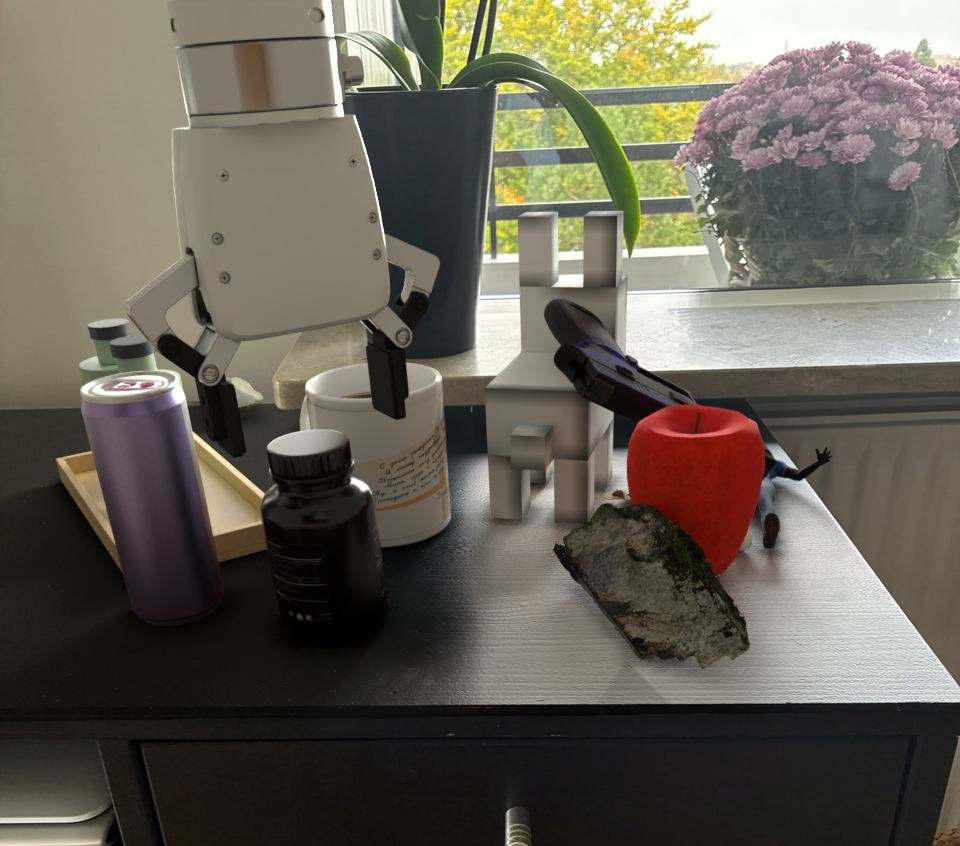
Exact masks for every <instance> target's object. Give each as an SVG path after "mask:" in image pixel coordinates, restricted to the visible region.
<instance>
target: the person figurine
mask: <svg viewBox="0 0 960 846" xmlns="http://www.w3.org/2000/svg"><path fill="white" fill-rule="evenodd" d="M764 443H765V445H766V446H767V444H766V442H765V441H764ZM815 453H816V459H817V460H815V461H814V462H812V463H810V464H809V465H807V466H805V467H803V468H801V469H797V468H793V467H791V466H789V465H788V464H786V463H785V461H783V460H779V459H776V458H775V460H776V465H775V466H774V467H773V468H772V470H771V471H770V472H769V473H768V475H767V476H766V477H765V478H764V480H762V485H761V491H760V496H759V501H758V504H757V507H758V510H759V511H760V516H761V517H760V521H761V522H760V523H761V527H762V528H761V529H762V531H763V533H762V545H763V548H764V549H766V550H771V549H773V548H774V547H775V546H776V543H777V539H778V537H779V534H780V530H781V520H780V518H779V516H778V514H776V513H775V508H774V503H775V500H776V497H777V491H776V487H775V484H774V483H773V481H772V480H773V479H776V478H781V479H789V480H791V481H794V482H795V481H796V482H801V481H803V480H804V479H806V478H808V477H809V476H811V475H812V474H813V473H815V472H816V471H817V470H818V469H819V468H820V467H821V466H824V465H825V464H827V463H830V462H831V460H830V459H831V458H833V456H832V455H830V454H831V450H829V451H828V447H827V446H825V447H824V450H823V452H820V450H819V449H818V448H815ZM753 538H754V537H753V534H752V532H751V531H750V530H748V532H747V535H746V537H745V539H744V541H743V543H742V545H741V548H740V550H739V552H743V551H745V550H747V549H749V548H750V547H751V545H753Z"/></svg>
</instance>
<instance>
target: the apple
mask: <svg viewBox="0 0 960 846" xmlns="http://www.w3.org/2000/svg"><path fill="white" fill-rule="evenodd" d="M698 405H699V404H698ZM698 405H677V406H667V407H665V408H663V409H661V410H659V411H657V412H655V413H653V414H651V415H650V416H648V417H646V418H644V419H643V420H641V421H639V422H638V424H637V423H636V426H635V428H634V430H633V432H632V434H631V436H630V439H629V442H628V447H627V455H626V482H627V489H628V494H629V496H630V500H631V501H630V500H629V501H630V503H631V506H632V505H638V504H646V505H648V504H649V505H651V506H653V507H654V508H655V509H656V510H657V509H658V511H659V512H660V513H661V514H663V515H664V516H666V517H667V518H668V519H669V520H671V521H672V522H674V523H676V525H677V526H678V527H680V528H682V529H683V531H685V532H686V534H690V535H691V536H692V538H693V539H694V541H695V542H696V543H697V544H698V545H699V546H700V547H701V548H702V549H703V551H704V553H705V554H706V558H705V559H708V561H709V563H710V564H711V565H712V572H713V573H714V574H715V576H716V577H717V576H721V575H723V574H724V573H726V571H727V570H728V569H729V567H730V566H731V565H732V564H733V563H734V562H735V561H736V558H737V556H738V554H739V552H740V551H739V550H740V548H741V545H742V543H743V541H744V539H745V537H746V535H747V532H748V531H749V529H750V527H751V523H752V522H753V518H754V516H755V513H756V509H757V508H758V505H757V504H758V501H759V496H760V491H761V485H762V480H763V475H764V469H765V447H764V444H763V441H764V440H763V438H762V435H761V432H760V429H759V426H758V423H757V422H756V421H755V420H753V419H751V418H749V417H747V416H746V415H744V414H743V413H741V412H740V411H737V410H732V409H727V408H723V407H717V406H708V405H700V406H698ZM762 440H763V441H762Z"/></svg>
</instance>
